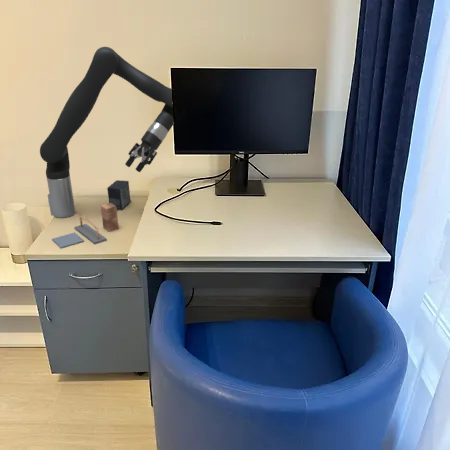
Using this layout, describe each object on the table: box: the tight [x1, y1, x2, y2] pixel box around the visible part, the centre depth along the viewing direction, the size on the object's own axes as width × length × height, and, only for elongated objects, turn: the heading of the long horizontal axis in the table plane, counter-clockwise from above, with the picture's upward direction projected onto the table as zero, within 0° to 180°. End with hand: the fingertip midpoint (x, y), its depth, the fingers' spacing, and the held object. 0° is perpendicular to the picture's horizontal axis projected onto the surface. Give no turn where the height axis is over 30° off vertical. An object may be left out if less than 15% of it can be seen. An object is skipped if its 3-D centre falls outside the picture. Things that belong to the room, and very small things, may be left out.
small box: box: [106, 179, 132, 211], centre depth 195 cm, size 11×6×10 cm, turn 170°
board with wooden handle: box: [74, 215, 108, 245], centre depth 168 cm, size 5×18×7 cm, turn 41°
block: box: [100, 202, 120, 233], centre depth 172 cm, size 4×4×10 cm
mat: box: [51, 231, 85, 249], centre depth 164 cm, size 9×9×1 cm
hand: (132, 168), depth 172 cm, fingers open, 8 cm apart
